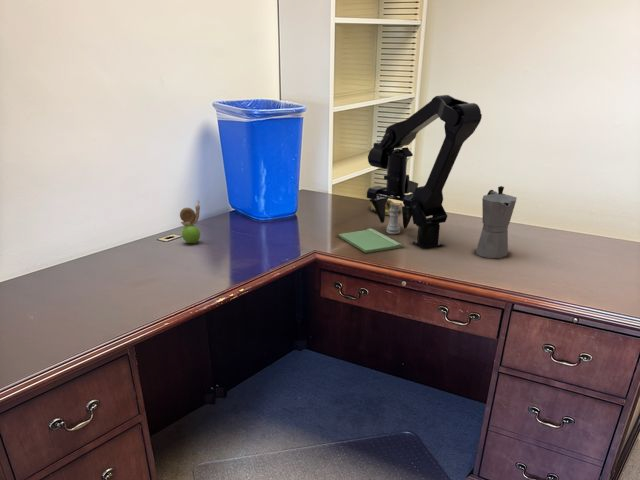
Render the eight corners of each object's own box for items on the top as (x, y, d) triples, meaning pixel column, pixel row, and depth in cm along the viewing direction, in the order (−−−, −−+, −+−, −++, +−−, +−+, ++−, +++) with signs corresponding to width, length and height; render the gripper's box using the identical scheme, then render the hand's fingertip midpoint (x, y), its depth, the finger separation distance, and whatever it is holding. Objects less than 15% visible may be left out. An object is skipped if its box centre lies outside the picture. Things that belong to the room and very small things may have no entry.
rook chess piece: (383, 231, 188) (384, 205, 183) (396, 230, 189) (397, 204, 184) (389, 235, 184) (391, 208, 180) (402, 233, 185) (404, 207, 181)
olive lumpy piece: (365, 209, 215) (380, 219, 203) (364, 195, 212) (379, 205, 200) (389, 204, 216) (406, 213, 204) (388, 190, 214) (405, 199, 202)
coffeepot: (515, 260, 163) (527, 191, 153) (482, 261, 163) (491, 192, 153) (497, 243, 176) (507, 178, 166) (466, 244, 176) (474, 179, 166)
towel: (402, 247, 174) (402, 243, 174) (365, 253, 170) (365, 249, 170) (373, 231, 188) (373, 228, 187) (338, 236, 184) (338, 233, 183)
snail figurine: (206, 244, 180) (201, 202, 173) (185, 246, 178) (179, 205, 171) (202, 239, 184) (197, 198, 177) (181, 241, 182) (175, 200, 175)
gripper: (438, 171, 176) (433, 225, 184) (390, 163, 187) (387, 215, 195) (415, 177, 169) (411, 233, 178) (366, 169, 180) (364, 221, 189)
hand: (393, 225), depth 185 cm, fingers open, 9 cm apart
